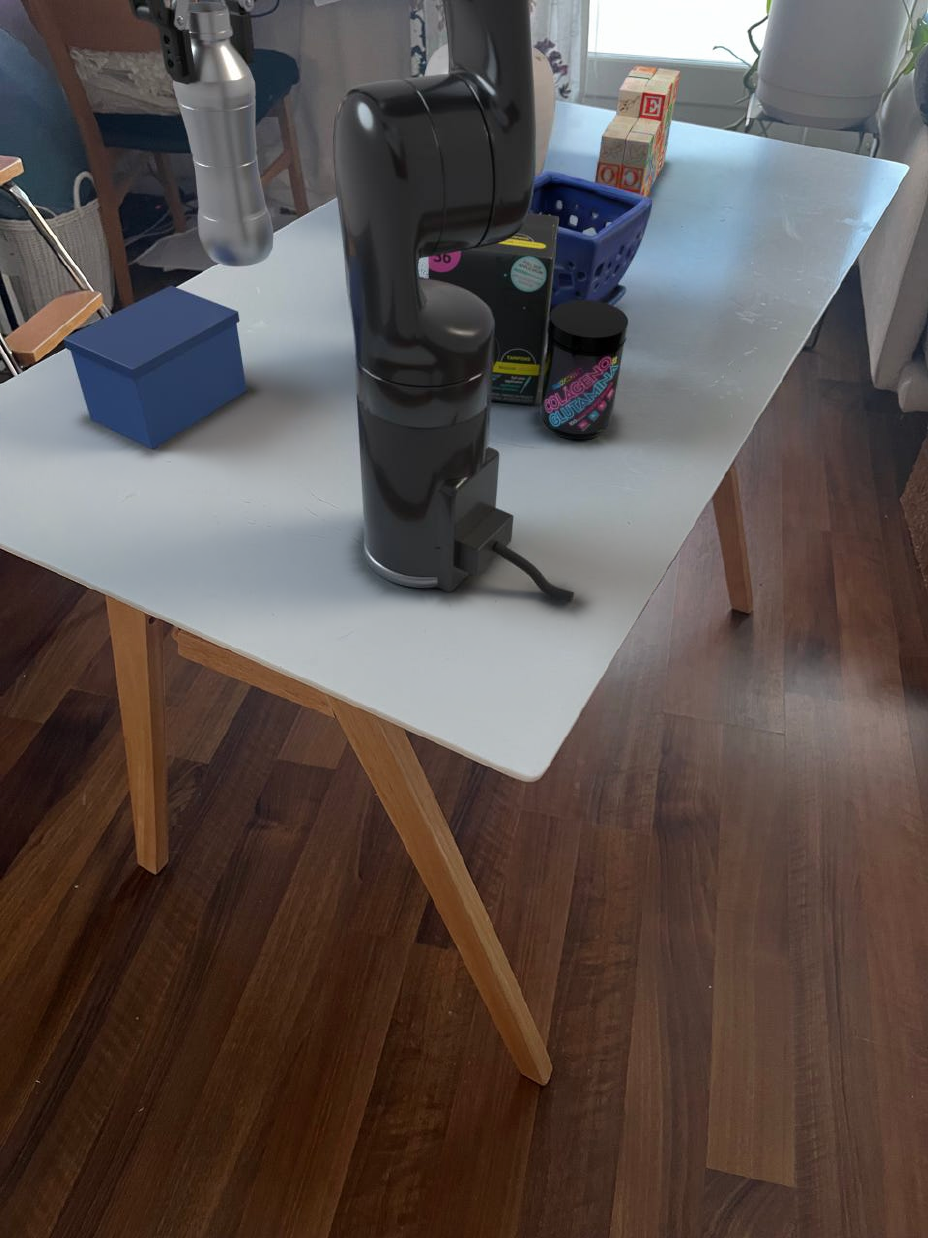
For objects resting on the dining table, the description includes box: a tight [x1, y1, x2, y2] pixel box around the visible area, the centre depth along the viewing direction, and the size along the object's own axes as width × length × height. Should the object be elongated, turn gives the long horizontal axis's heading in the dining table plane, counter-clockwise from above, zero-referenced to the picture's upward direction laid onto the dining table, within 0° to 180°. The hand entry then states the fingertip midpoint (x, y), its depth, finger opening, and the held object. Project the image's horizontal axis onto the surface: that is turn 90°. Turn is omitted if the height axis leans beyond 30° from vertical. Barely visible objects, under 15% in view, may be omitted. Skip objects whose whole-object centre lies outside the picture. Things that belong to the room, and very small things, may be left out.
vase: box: [423, 42, 557, 177], centre depth 111 cm, size 16×16×23 cm
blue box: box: [63, 285, 248, 450], centre depth 84 cm, size 8×12×8 cm
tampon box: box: [427, 213, 559, 406], centre depth 87 cm, size 11×9×15 cm
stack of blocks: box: [594, 65, 681, 197], centre depth 125 cm, size 21×6×12 cm, turn 162°
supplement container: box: [539, 300, 629, 441], centre depth 83 cm, size 7×7×10 cm
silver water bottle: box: [172, 1, 275, 267], centre depth 79 cm, size 6×7×20 cm
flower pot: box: [529, 170, 653, 332], centre depth 98 cm, size 13×13×12 cm
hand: (213, 71), depth 75 cm, fingers closed on silver water bottle, 6 cm apart
